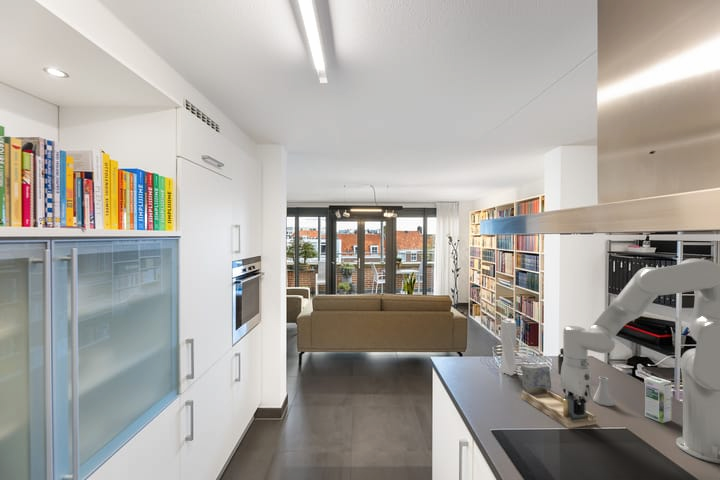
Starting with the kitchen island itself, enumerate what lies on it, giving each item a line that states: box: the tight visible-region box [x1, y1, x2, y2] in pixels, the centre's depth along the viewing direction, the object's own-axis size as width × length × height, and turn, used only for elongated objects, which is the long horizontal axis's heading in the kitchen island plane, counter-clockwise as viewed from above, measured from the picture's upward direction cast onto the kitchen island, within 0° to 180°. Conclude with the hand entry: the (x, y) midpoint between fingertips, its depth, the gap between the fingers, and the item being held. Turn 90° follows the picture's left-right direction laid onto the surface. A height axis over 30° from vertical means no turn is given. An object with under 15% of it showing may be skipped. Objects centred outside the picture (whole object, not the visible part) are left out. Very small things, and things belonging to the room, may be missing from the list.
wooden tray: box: [520, 385, 597, 429], centre depth 135 cm, size 24×12×9 cm, turn 14°
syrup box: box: [644, 375, 672, 424], centre depth 129 cm, size 6×6×14 cm
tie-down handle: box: [564, 394, 588, 420], centre depth 126 cm, size 3×8×7 cm, turn 104°
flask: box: [592, 376, 615, 407], centre depth 141 cm, size 7×7×10 cm
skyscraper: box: [500, 315, 518, 376], centre depth 173 cm, size 8×8×28 cm
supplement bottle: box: [557, 348, 563, 375], centre depth 172 cm, size 7×7×12 cm
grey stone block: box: [520, 362, 552, 390], centre depth 155 cm, size 10×8×10 cm
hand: (575, 411), depth 126 cm, fingers closed on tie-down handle, 3 cm apart
